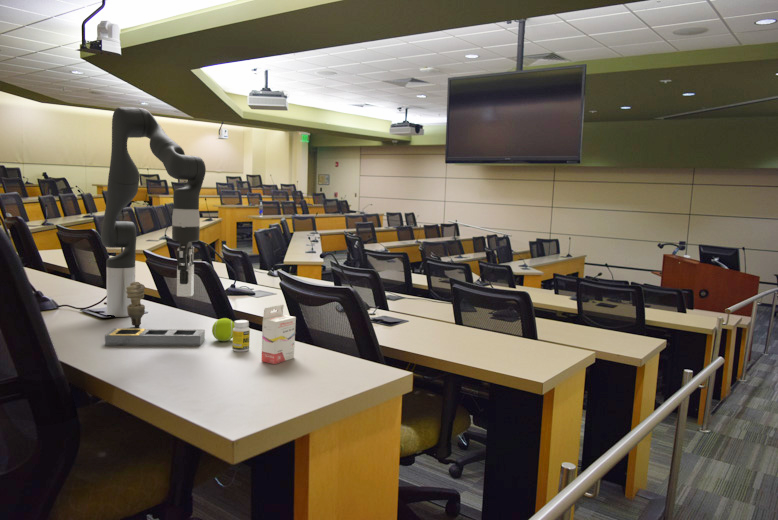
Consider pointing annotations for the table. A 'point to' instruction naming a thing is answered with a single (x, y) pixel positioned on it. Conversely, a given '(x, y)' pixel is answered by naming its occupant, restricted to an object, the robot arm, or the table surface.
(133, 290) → the beige stone carving
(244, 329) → the supplement bottle
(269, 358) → the ink cartridge box
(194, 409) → the table surface
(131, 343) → the grey long flat frame
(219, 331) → the tennis ball
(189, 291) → the brushed metal square block
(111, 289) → the robot arm
